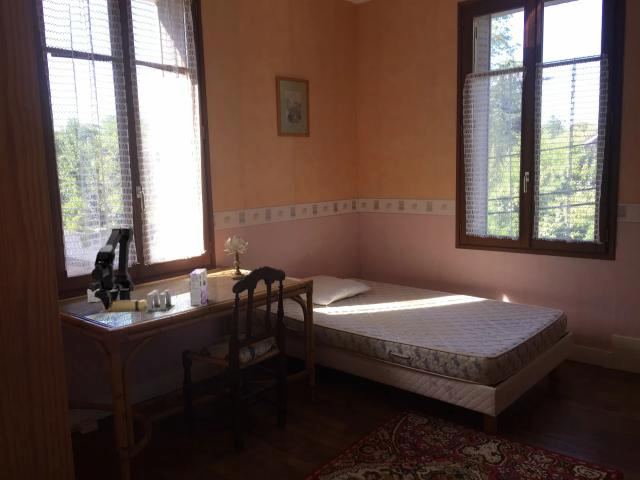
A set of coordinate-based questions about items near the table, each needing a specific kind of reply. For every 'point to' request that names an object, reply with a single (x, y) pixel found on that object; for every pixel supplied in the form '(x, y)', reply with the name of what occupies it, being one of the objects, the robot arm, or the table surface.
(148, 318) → the table surface
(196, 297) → the candy box
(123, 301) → the brass tube
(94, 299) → the skincare box
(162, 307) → the grey slotted rack
